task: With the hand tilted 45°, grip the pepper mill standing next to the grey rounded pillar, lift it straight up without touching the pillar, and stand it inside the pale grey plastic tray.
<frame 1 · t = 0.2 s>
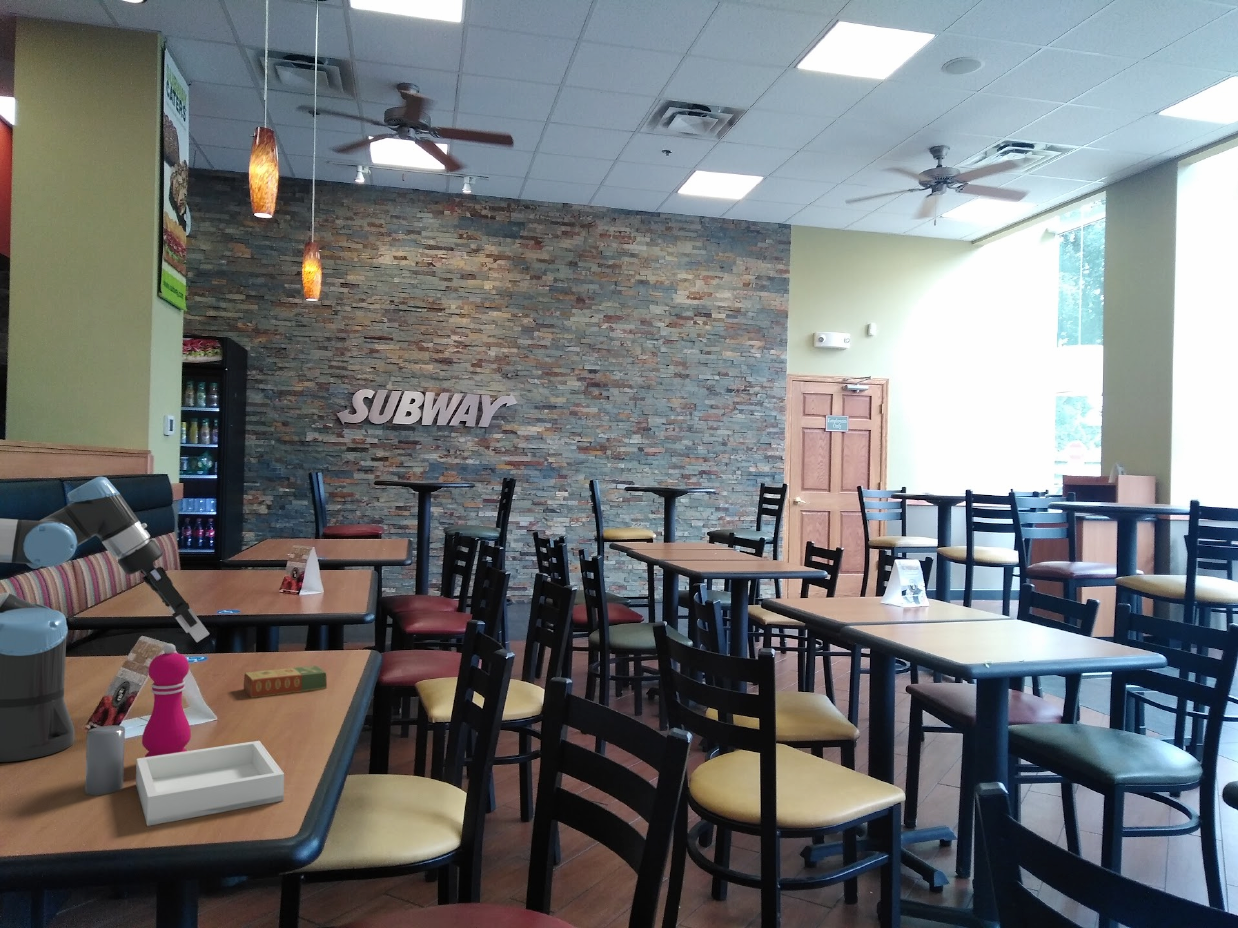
hand: (197, 633, 173), 15 cm above the table, tool tilted 35°, fingers open, 13 cm apart
pepper mill: (165, 764, 141), on the table
grey rounded pillar: (104, 788, 130), on the table
carton: (285, 691, 190), on the table
tray: (208, 792, 130), on the table
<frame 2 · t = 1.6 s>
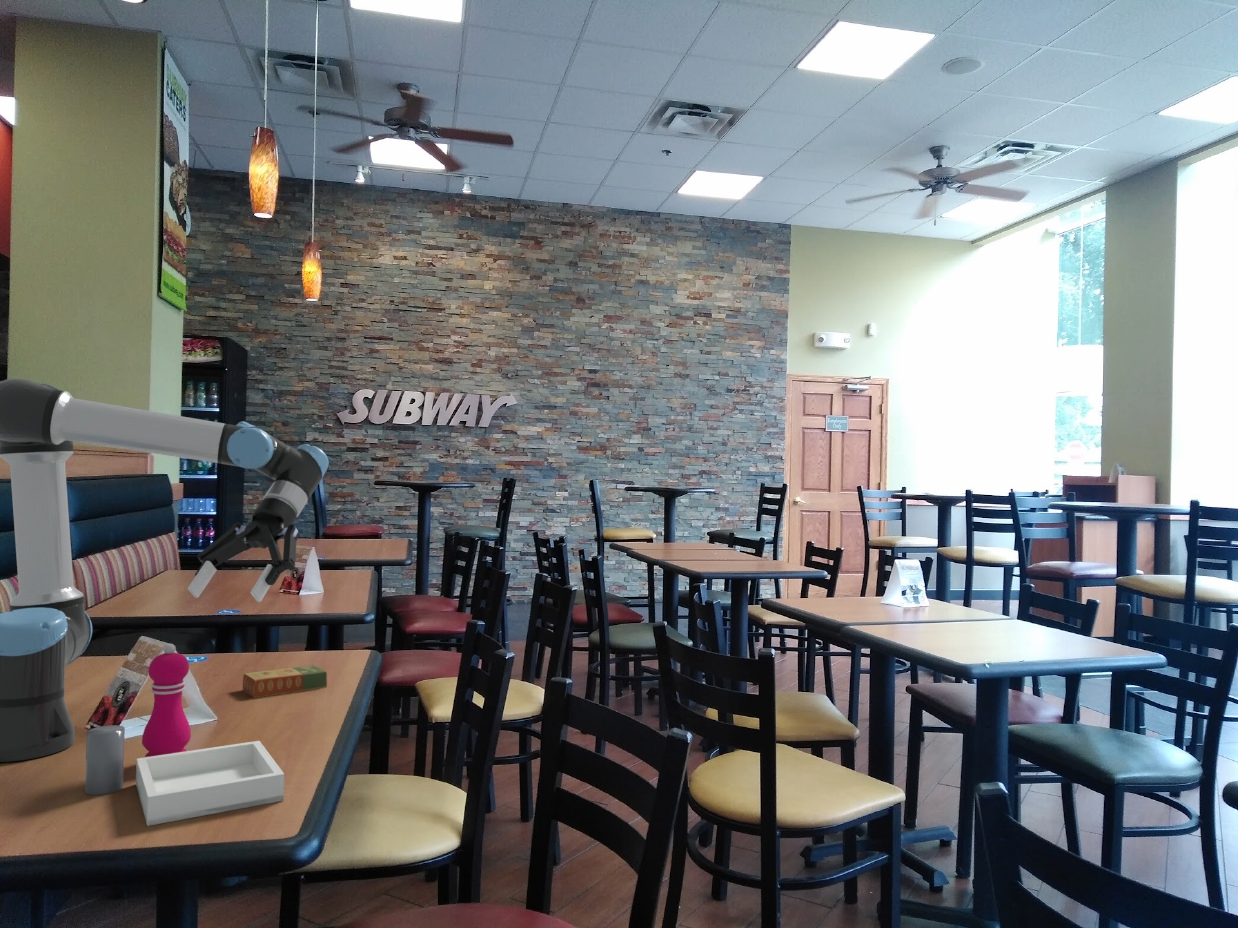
hand: (223, 595, 153), 27 cm above the table, tool tilted 45°, fingers open, 13 cm apart
nothing on the table moved.
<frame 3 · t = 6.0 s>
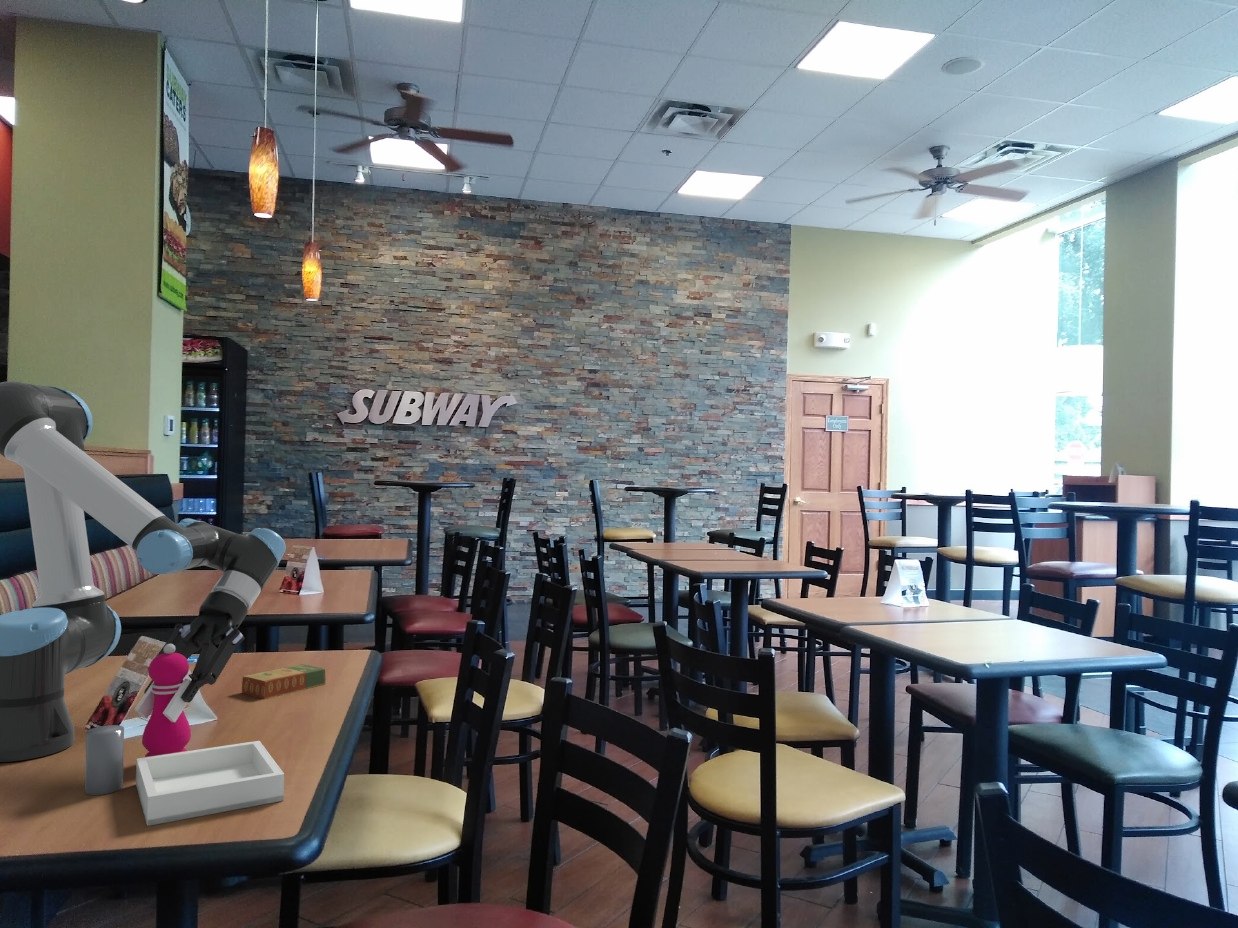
hand: (154, 715, 139), 9 cm above the table, tool tilted 45°, fingers closed on pepper mill, 5 cm apart
pepper mill: (165, 764, 141), on the table, touching gripper
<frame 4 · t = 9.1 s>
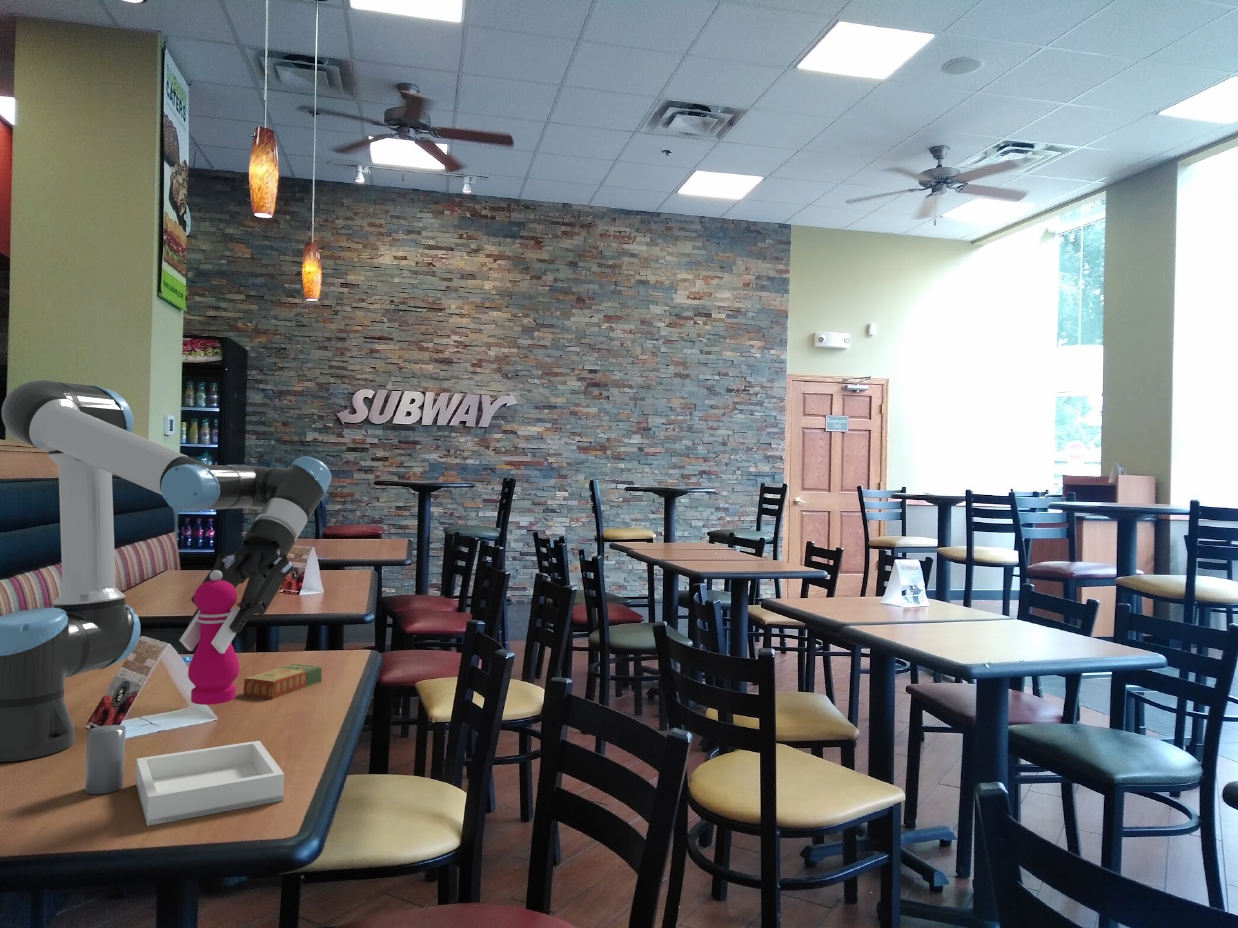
hand: (201, 646, 128), 23 cm above the table, tool tilted 45°, fingers closed on pepper mill, 5 cm apart
pepper mill: (213, 700, 131), point 14 cm above the table, touching gripper
when the fingers open (10 cm above the table, at t = 12.4 s): pepper mill stays where it is, resting on tray.
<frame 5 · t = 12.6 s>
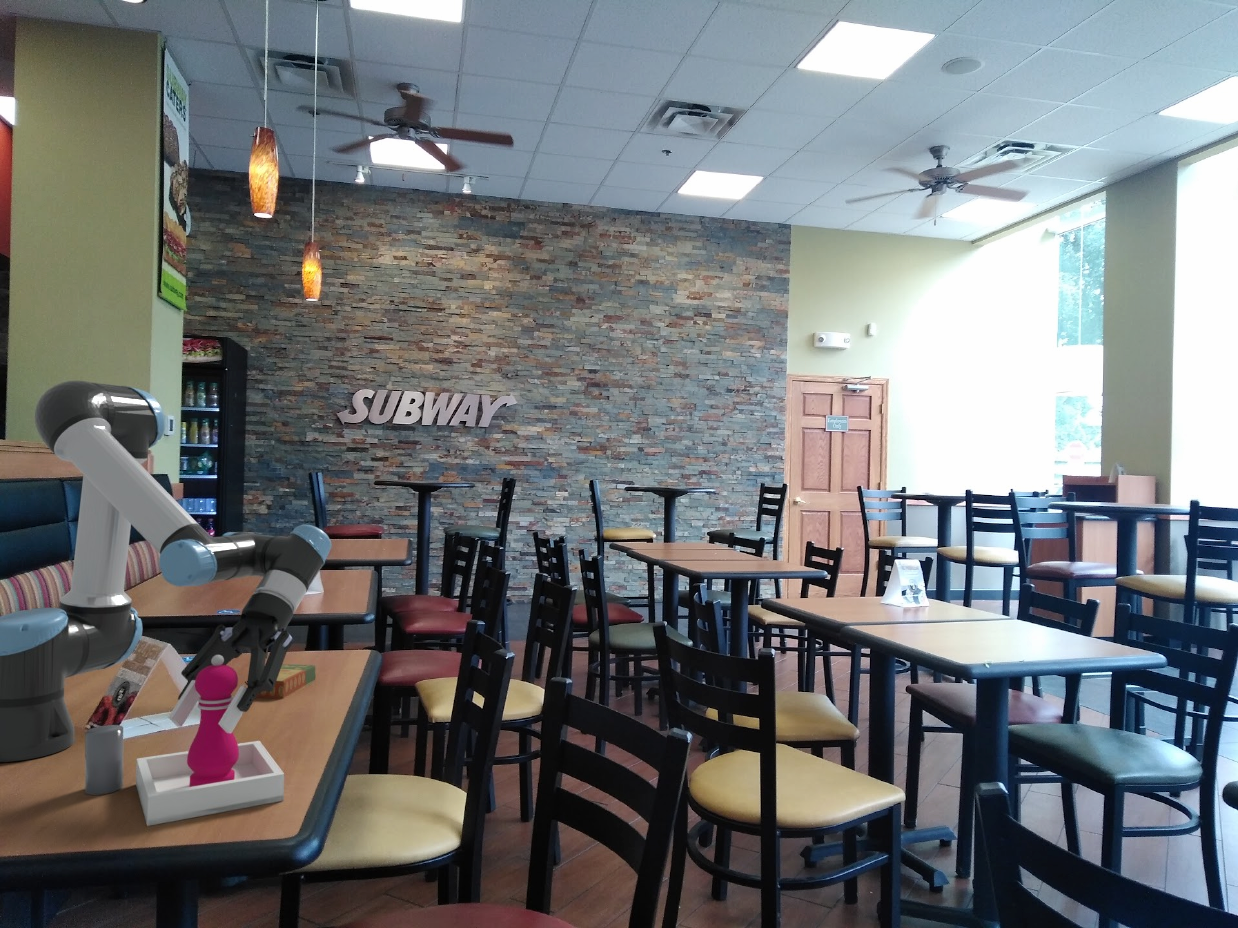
hand: (199, 725, 127), 11 cm above the table, tool tilted 45°, fingers open, 8 cm apart
pepper mill: (212, 786, 130), point 1 cm above the table, touching tray
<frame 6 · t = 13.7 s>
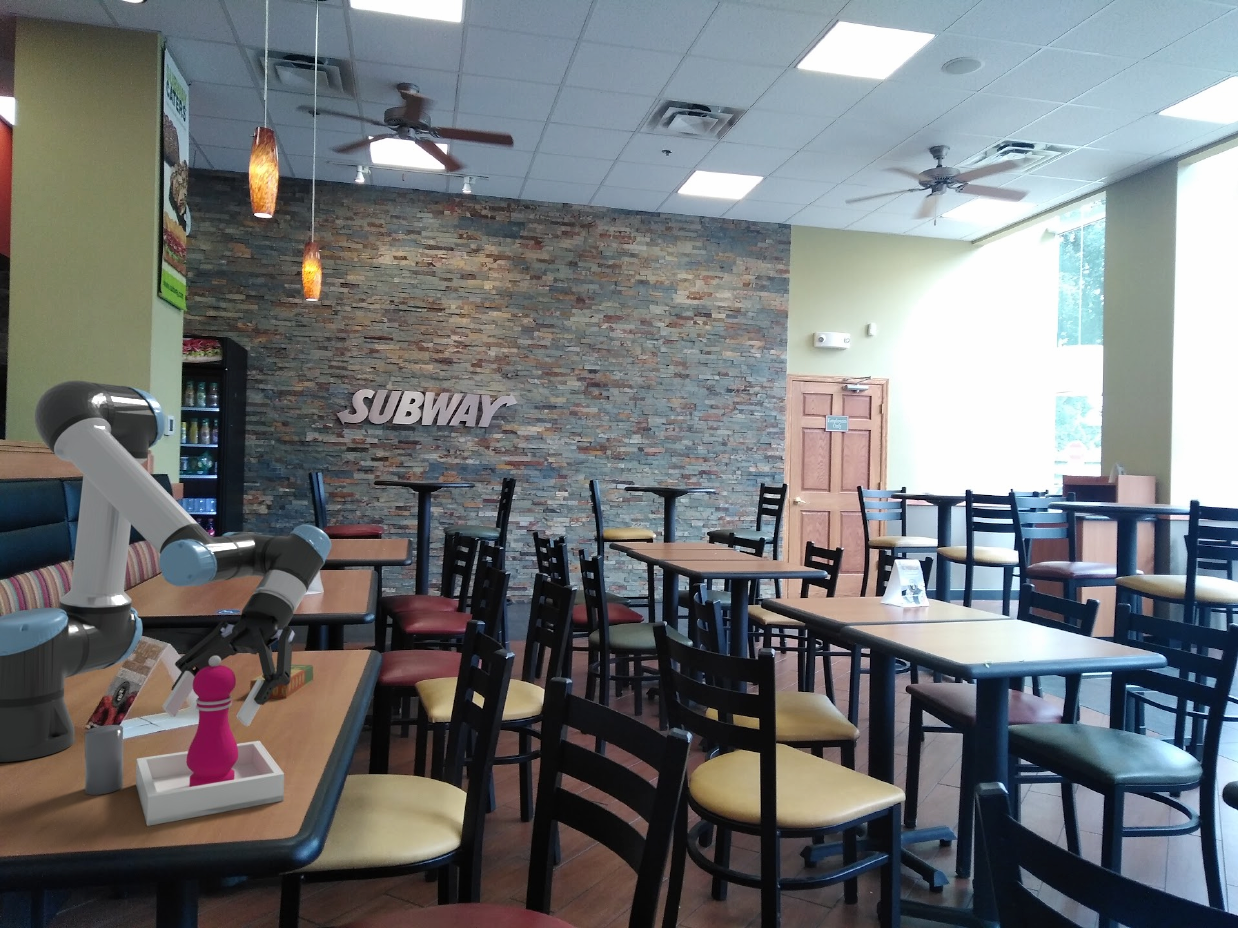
hand: (204, 717, 128), 12 cm above the table, tool tilted 45°, fingers open, 13 cm apart
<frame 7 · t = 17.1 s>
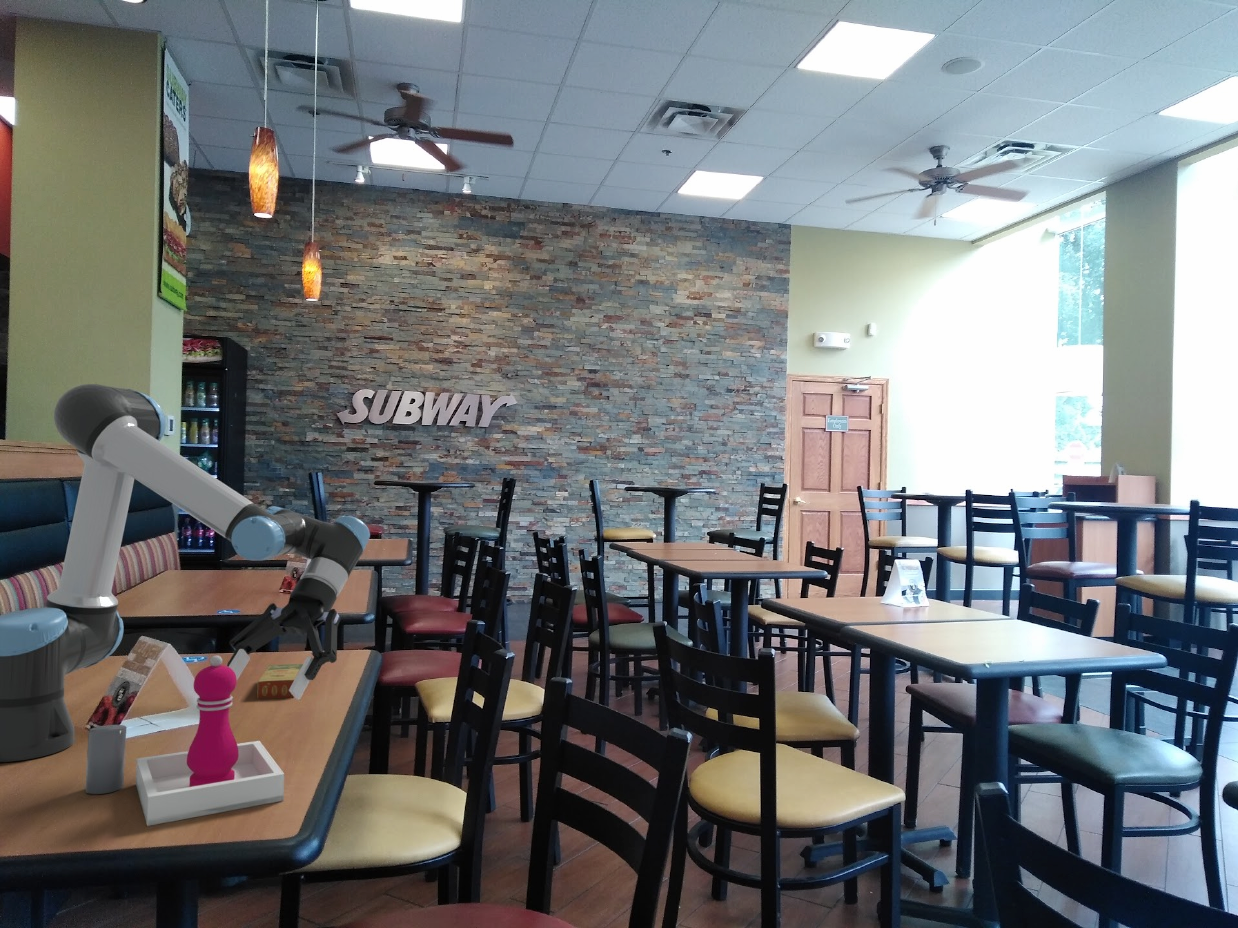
hand: (258, 690, 140), 13 cm above the table, tool tilted 45°, fingers open, 13 cm apart
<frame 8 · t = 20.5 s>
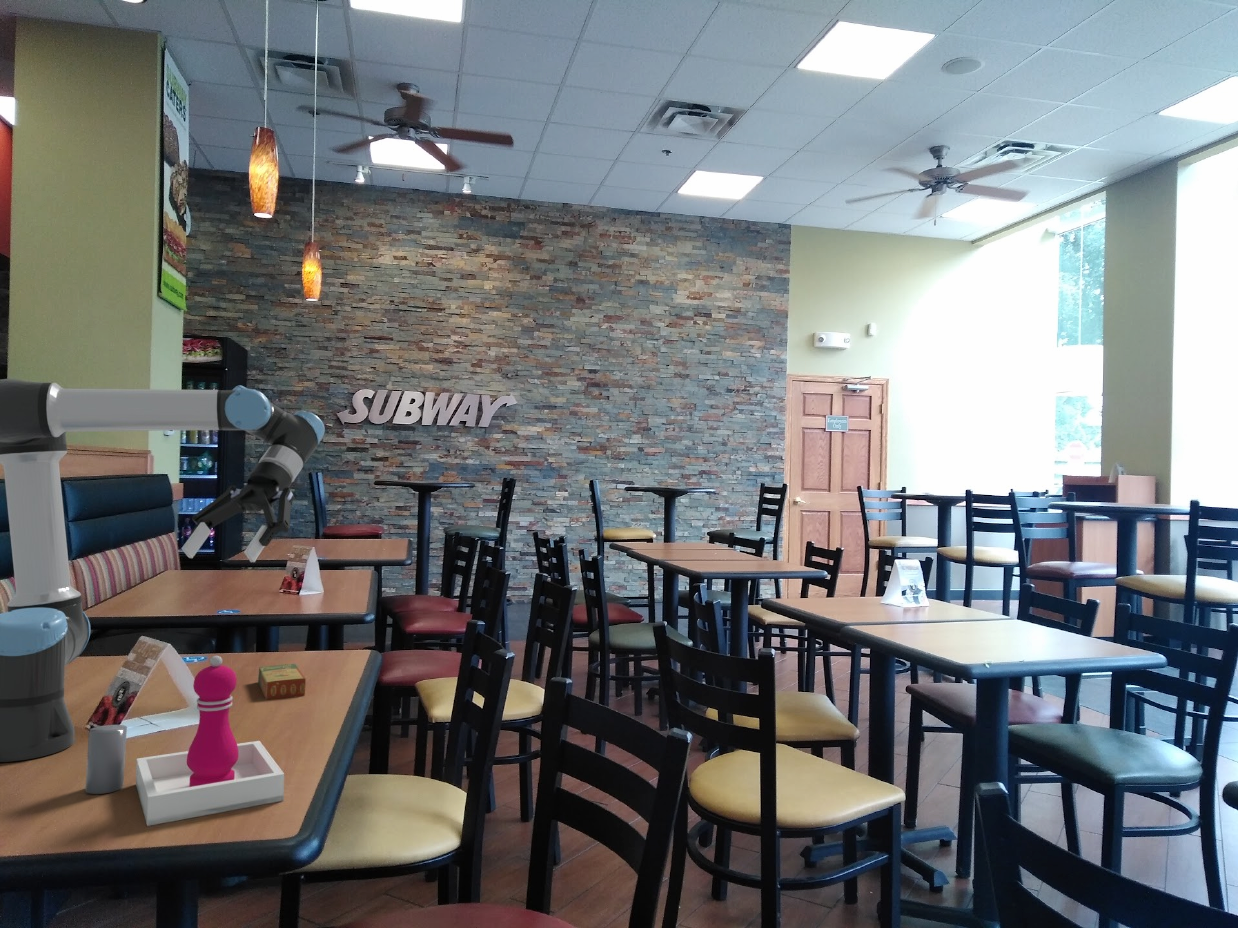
hand: (217, 555, 153), 34 cm above the table, tool tilted 45°, fingers open, 13 cm apart
at the end: pepper mill inside the target area on the tray (0.6 cm from its centre), point 0.6 cm above the tray's base; pepper mill tilted 0°; grey rounded pillar moved 0.1 cm from its start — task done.
